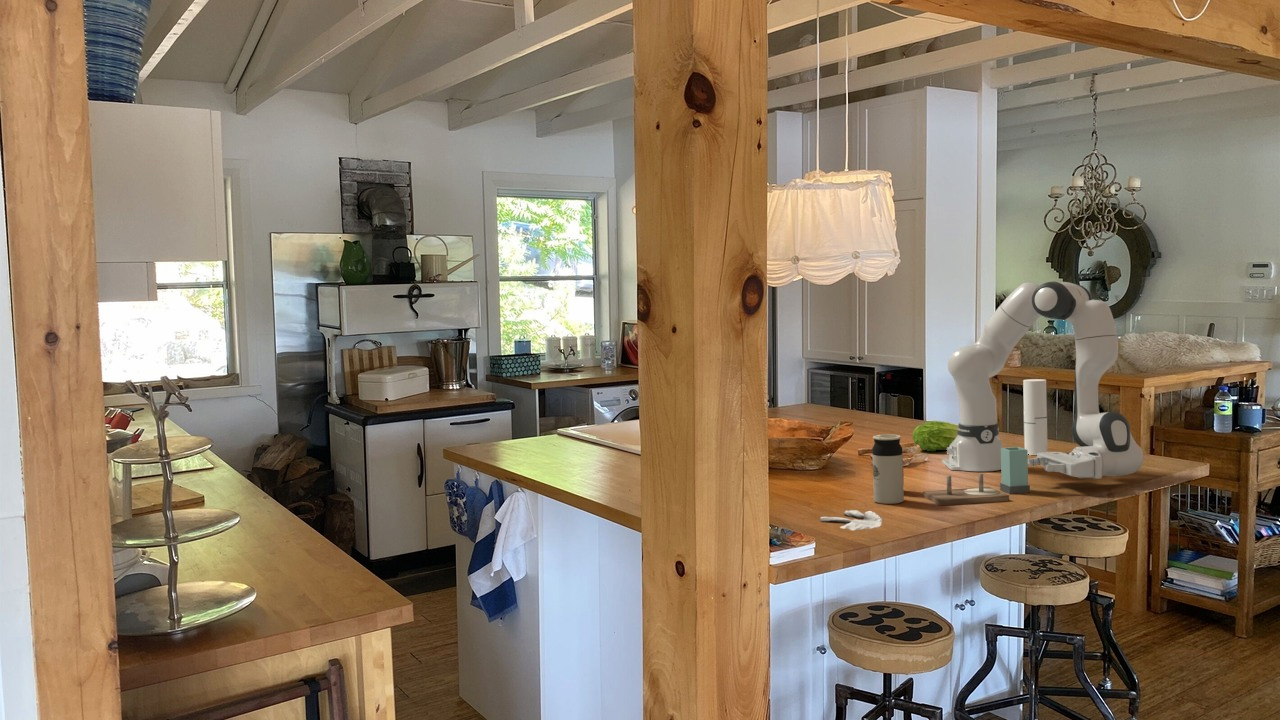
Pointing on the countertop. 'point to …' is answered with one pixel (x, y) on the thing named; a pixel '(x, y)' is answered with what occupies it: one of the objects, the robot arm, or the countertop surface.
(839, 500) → the countertop surface
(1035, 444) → the cylindrical container
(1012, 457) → the teal sleeve
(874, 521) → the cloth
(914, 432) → the lettuce
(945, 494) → the pin board
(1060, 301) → the robot arm
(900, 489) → the travel mug
